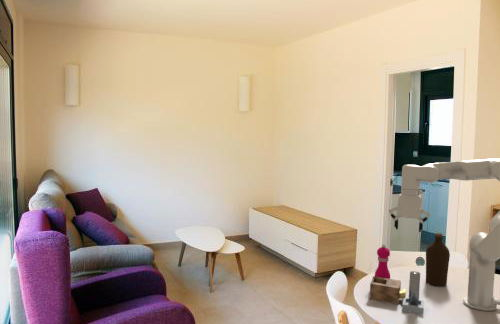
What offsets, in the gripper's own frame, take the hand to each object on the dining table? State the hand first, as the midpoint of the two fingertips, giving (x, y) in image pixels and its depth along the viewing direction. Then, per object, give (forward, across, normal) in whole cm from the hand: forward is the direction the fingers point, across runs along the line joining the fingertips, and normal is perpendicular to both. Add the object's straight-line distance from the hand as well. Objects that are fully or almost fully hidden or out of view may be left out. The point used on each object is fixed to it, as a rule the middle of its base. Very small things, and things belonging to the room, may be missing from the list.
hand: (408, 230), depth 181 cm
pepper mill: (+31, +11, -9) cm, 34 cm away
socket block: (+30, +8, +6) cm, 32 cm away
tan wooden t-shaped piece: (+30, +3, +6) cm, 31 cm away
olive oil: (+31, -13, -23) cm, 40 cm away
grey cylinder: (+29, -4, +13) cm, 32 cm away
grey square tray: (+30, -4, +13) cm, 33 cm away
